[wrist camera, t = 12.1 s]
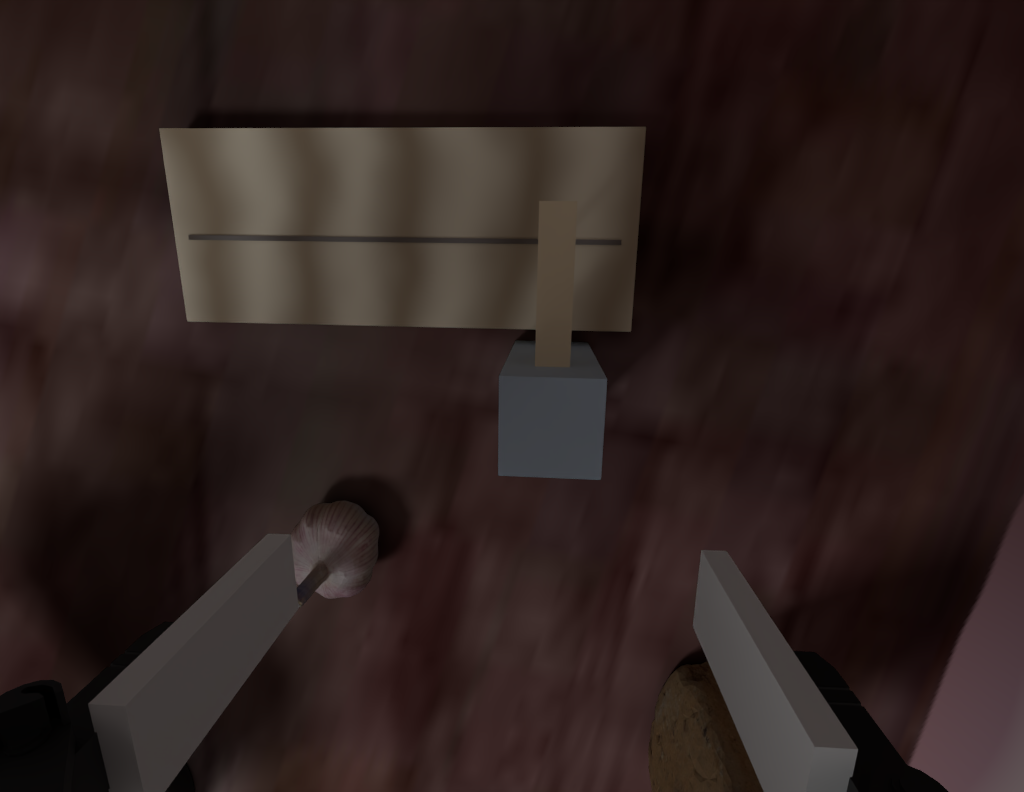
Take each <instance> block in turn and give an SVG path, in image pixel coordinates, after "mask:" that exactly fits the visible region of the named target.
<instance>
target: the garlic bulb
mask: <svg viewBox="0 0 1024 792" xmlns="http://www.w3.org/2000/svg"><path fill="white" fill-rule="evenodd" d="M378 538H379V526H378V524H377V522H376V520H375V519H374V518H373V517H371V516H369V515H368V514H366V513H365V511H364V510H363V509H362V507H360V506H359V505H357V504H355V503H352V502H349V501H335V502H333V503H319V504H316V505H314V506H312V507H311V508H309V509H308V510H307V511H306V513H305V514H304V516H303V518H302V520H301V521H300V522H299V523H298V524H297V525H296V526H295V528H294V529H293V531H292V534H291V542H292V551H293V560H294V569H295V579H296V583H297V584H298V585H299V586H298V587H297V597H298V606H299V607H301V606H302V605H303V604H304V603H305V602H306V601H307V600H308V599H309V598H310V596H311V595H312V594H313V593H314V592H317V593H319V594H321V595H322V596H324V597H326V598H329V599H334V598H338V597H350V596H353V595H356V594H358V593H359V592H361V591H362V590H363V589H364V588H365V587H366V585H367V584H368V583H369V581H370V579H371V576H372V569H373V567H374V565H375V563H376V561H377V558H378Z"/></svg>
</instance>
